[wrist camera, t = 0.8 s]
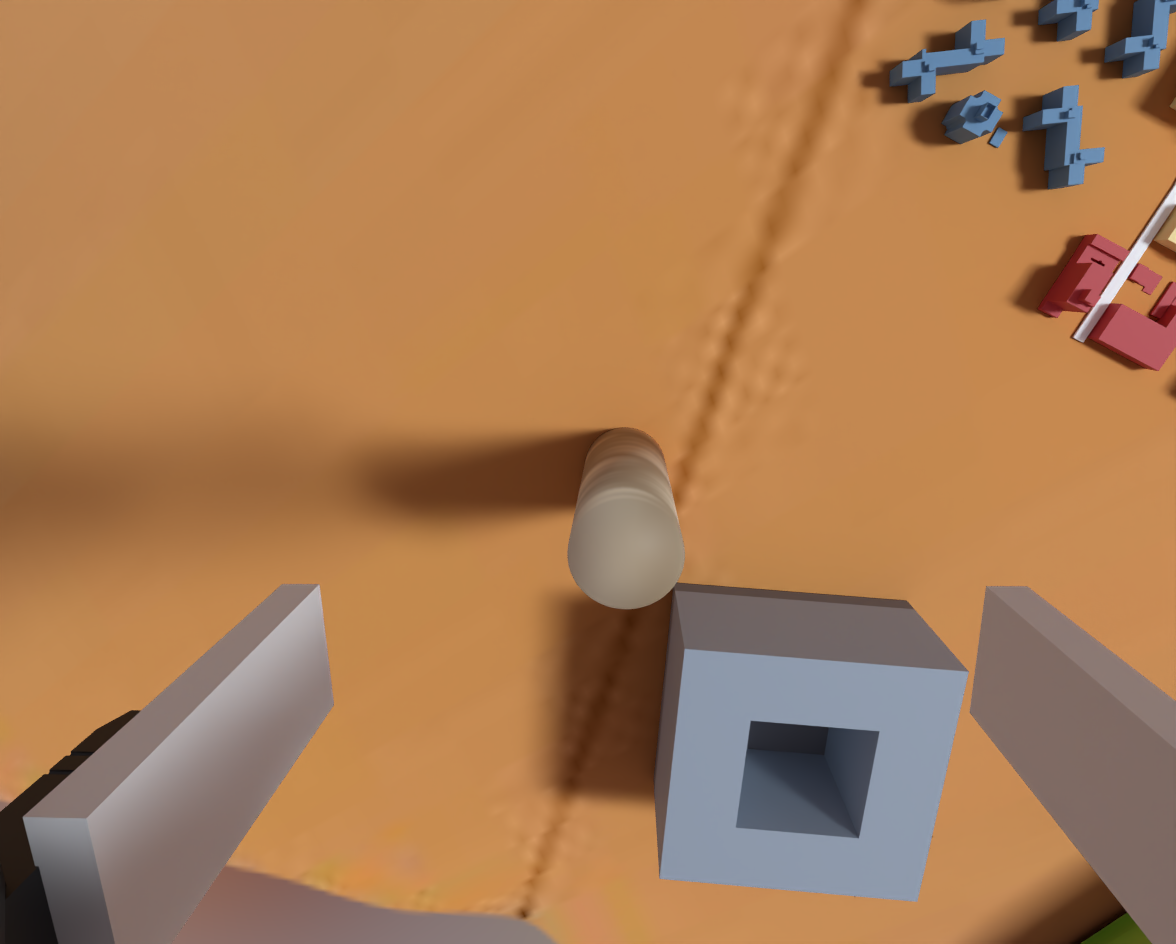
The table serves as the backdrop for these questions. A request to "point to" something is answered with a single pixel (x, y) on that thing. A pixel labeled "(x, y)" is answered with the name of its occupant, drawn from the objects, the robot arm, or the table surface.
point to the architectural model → (1073, 171)
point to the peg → (625, 523)
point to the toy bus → (1119, 933)
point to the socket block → (802, 741)
